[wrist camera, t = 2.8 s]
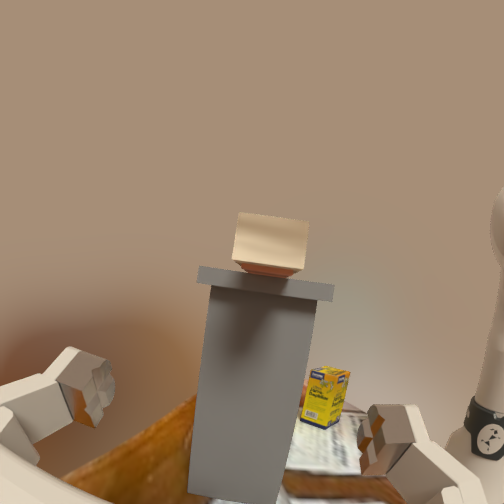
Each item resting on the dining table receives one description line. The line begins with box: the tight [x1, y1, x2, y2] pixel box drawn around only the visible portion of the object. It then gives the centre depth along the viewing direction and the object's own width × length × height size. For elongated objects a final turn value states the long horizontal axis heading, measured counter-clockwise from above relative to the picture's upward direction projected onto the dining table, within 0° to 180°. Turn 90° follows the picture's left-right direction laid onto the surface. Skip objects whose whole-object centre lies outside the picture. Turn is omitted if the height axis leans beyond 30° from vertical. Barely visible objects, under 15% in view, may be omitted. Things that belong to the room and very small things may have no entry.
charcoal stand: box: [187, 266, 334, 504], centre depth 35 cm, size 18×12×26 cm, turn 177°
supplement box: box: [300, 366, 350, 429], centre depth 54 cm, size 6×6×11 cm
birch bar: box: [232, 212, 309, 278], centre depth 30 cm, size 26×4×3 cm, turn 177°
